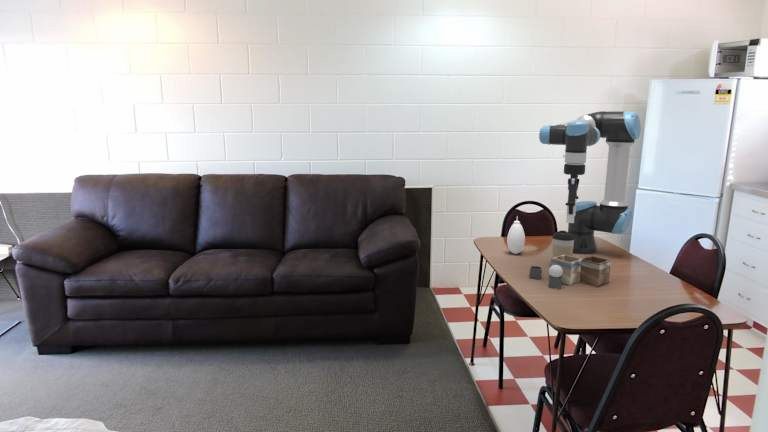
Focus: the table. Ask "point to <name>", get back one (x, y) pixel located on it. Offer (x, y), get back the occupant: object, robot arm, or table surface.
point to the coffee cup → (562, 243)
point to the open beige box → (568, 268)
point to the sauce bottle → (516, 238)
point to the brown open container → (595, 271)
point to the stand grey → (554, 282)
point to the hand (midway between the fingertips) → (570, 219)
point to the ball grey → (555, 271)
